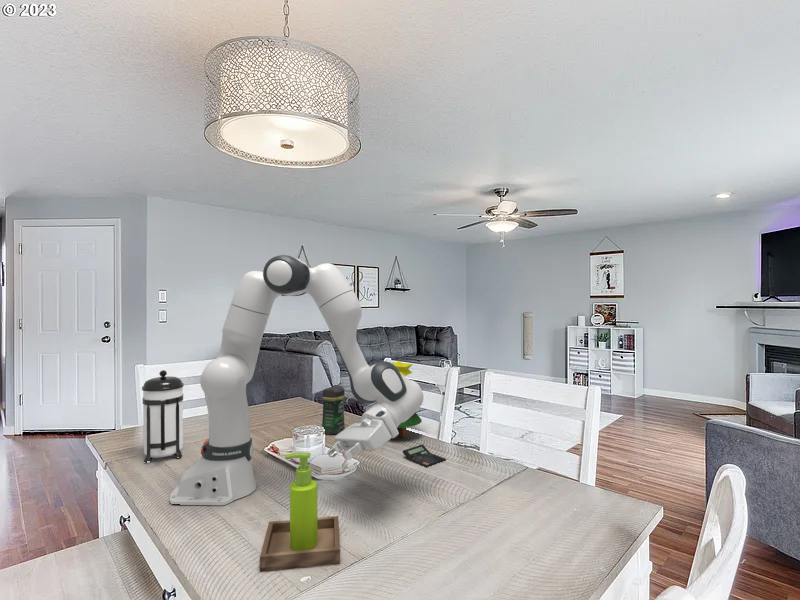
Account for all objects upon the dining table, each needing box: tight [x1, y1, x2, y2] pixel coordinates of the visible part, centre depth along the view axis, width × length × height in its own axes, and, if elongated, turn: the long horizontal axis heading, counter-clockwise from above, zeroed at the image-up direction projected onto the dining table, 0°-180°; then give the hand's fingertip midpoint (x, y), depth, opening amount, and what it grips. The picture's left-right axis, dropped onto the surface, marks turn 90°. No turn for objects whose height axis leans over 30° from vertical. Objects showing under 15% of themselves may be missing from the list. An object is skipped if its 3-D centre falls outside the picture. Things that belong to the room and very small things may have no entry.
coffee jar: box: [321, 385, 346, 435], centre depth 179 cm, size 10×8×19 cm
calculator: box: [402, 444, 447, 468], centre depth 149 cm, size 9×12×3 cm
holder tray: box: [259, 515, 341, 573], centre depth 96 cm, size 16×14×3 cm
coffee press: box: [141, 369, 185, 464], centre depth 151 cm, size 17×16×30 cm
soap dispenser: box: [284, 451, 318, 551], centre depth 97 cm, size 6×7×20 cm
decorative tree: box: [374, 360, 423, 440], centre depth 174 cm, size 19×19×30 cm
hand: (337, 456), depth 110 cm, fingers open, 8 cm apart
